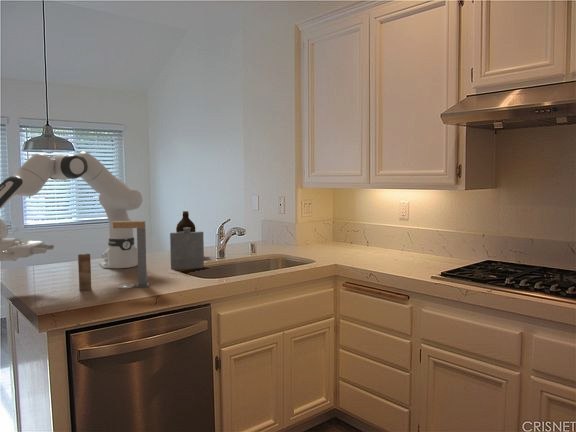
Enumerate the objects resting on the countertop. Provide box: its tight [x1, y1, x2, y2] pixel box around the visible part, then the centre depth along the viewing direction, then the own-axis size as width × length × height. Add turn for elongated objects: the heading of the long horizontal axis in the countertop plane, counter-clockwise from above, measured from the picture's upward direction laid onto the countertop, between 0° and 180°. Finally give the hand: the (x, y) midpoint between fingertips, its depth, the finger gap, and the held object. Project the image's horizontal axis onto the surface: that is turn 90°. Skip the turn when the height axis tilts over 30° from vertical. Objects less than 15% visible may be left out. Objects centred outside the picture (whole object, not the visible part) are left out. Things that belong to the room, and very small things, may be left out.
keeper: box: [113, 220, 150, 290], centre depth 189 cm, size 13×7×26 cm, turn 101°
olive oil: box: [175, 210, 196, 233], centre depth 264 cm, size 11×11×25 cm
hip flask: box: [169, 227, 205, 270], centre depth 227 cm, size 16×4×20 cm, turn 109°
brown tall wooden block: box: [77, 253, 92, 292], centre depth 185 cm, size 4×4×14 cm
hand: (49, 248), depth 181 cm, fingers open, 8 cm apart
